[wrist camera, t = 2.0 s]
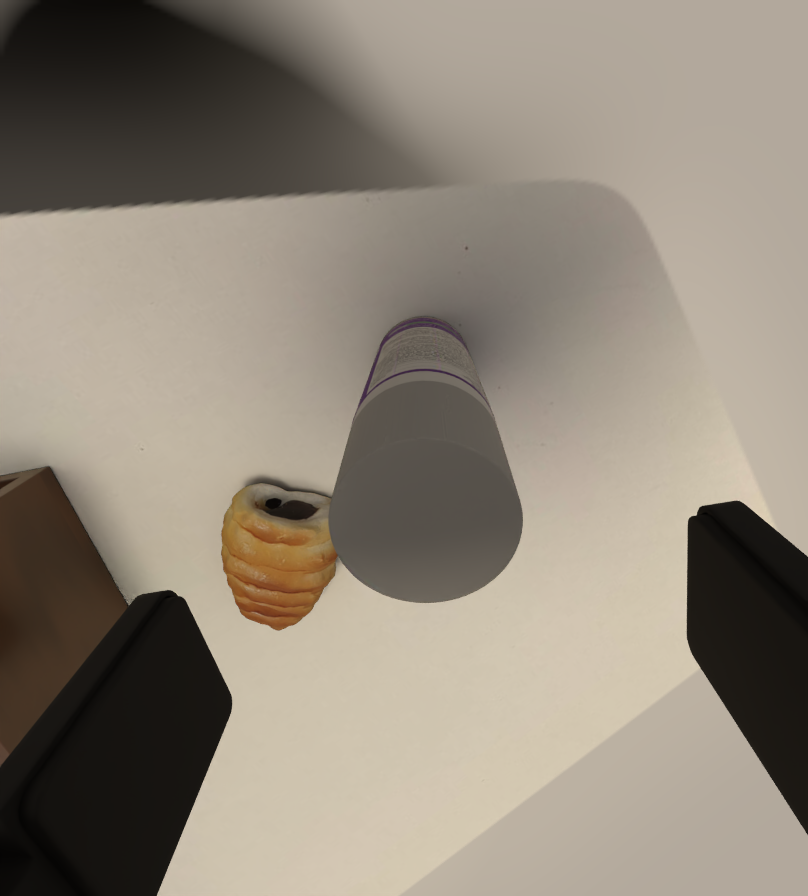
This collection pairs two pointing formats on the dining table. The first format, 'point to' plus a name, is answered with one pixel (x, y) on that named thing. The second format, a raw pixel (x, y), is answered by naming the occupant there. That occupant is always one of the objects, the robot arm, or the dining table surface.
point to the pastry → (277, 553)
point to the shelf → (45, 599)
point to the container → (424, 474)
